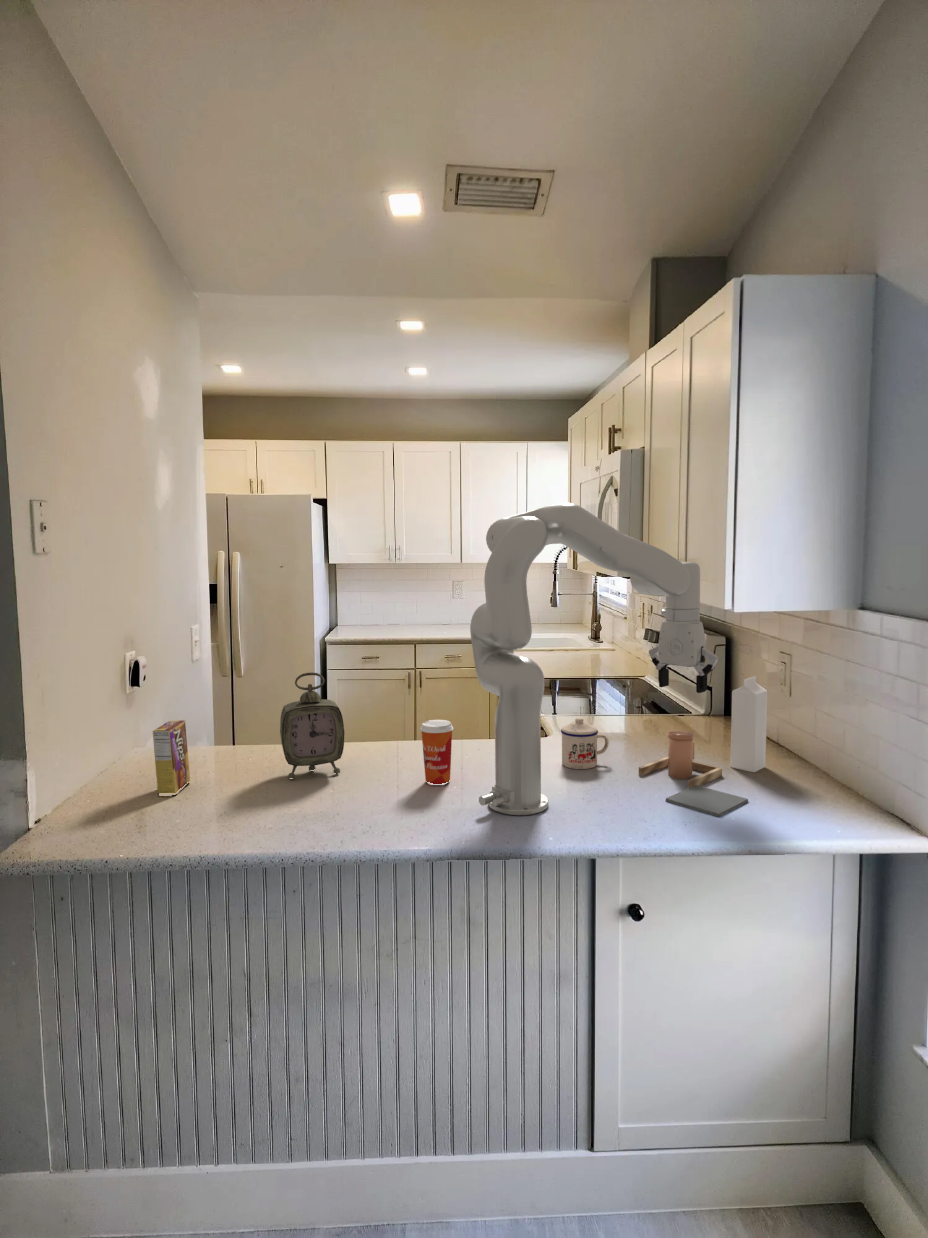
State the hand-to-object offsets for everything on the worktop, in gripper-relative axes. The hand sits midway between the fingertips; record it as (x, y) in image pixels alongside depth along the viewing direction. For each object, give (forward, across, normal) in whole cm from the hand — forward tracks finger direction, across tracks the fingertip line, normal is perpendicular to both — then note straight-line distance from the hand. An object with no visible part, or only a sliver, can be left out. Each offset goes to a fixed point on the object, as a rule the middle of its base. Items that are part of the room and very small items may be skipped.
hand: (682, 689), depth 161 cm
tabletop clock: (+20, -62, -62) cm, 90 cm away
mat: (+20, +13, -12) cm, 27 cm away
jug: (+21, 0, +1) cm, 21 cm away
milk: (+21, +8, +16) cm, 28 cm away
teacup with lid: (+21, -21, -10) cm, 31 cm away
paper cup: (+20, -36, -44) cm, 61 cm away
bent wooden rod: (+20, 0, 0) cm, 21 cm away
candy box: (+20, -74, -92) cm, 119 cm away
